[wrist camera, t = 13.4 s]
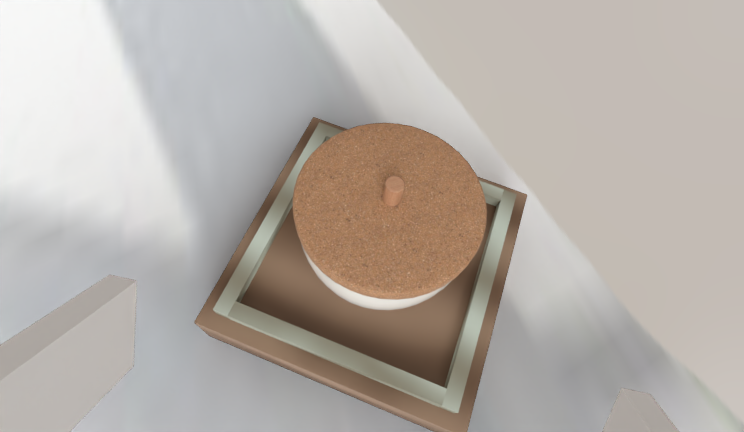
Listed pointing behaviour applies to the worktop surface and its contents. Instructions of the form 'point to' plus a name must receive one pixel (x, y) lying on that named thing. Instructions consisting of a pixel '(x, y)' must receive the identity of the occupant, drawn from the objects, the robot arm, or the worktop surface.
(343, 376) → the tray
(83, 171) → the worktop surface
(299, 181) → the lidded jar
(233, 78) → the worktop surface
